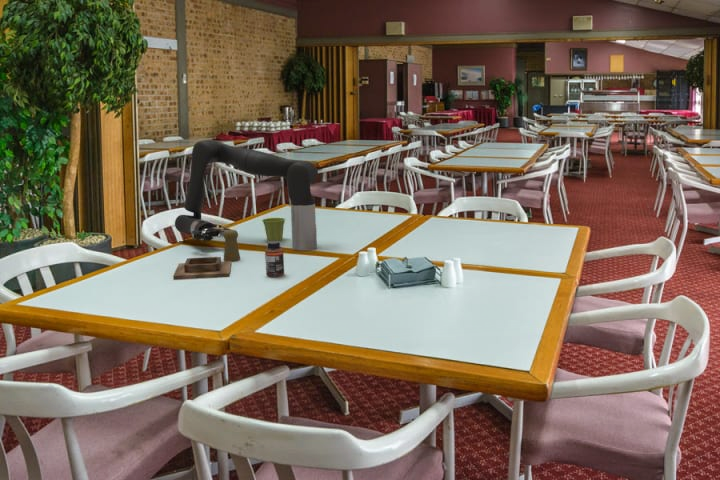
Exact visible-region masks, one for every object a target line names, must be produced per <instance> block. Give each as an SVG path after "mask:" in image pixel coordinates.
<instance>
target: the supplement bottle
mask: <svg viewBox="0 0 720 480" xmlns="http://www.w3.org/2000/svg"><path fill="white" fill-rule="evenodd" d="M264 253H265V255H264V257H265V258H264V259H265V260H264V261H265V274H266V276H267V277H270V278H278V277H279V278H280V277H282V276H284V275H285V262H284V261H285V259H284V249H283V247H281V241H267V247H266V248H265V250H264Z"/></svg>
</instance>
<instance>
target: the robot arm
mask: <svg viewBox="0 0 720 480" xmlns="http://www.w3.org/2000/svg"><path fill="white" fill-rule="evenodd" d="M191 151H192V152H191V161H190V162H191V163H190V171H189V172H190V173H189V182H188V188H187V191H186V197H185V200H184V204H183V207H184V209H185V210H186V211H187V212H190V213H192V214H193V215H190V214H179V215H178V216H177V217H176V218H175V220H174V227H175V229H176V230H177V231H178V232H180V233H182V234H189V235H191V238H192V239H194V240H195V241H199V240H201V241H203V242H209V241H212V240H213V239H215V238H220V239H221V238H224V236H223V233H224V231H226V230H232V229H231V228H228V227H226V226H225V227H224V226H223V227H222V228H221V227H220V228H219V227H216V226H215V225H214V223H212V222H210V221H207V220H205V219H202V209H203V203H204V200H205V197H206V185H205V173H206V171H207V168H208V165H209V164H214V163H221V164H227V165H231V166H233V167H235V168H236V169H238V170H239V171H241V172H244V173H247V174H251V175H255V176H261V177H277V178H278V177H280V178H285V179H286V180H287V181H286V182H287V194H288V197H289V200H290V201H289V202H290V217H291V219H290V221H291V242H292V243H291V246H292V247H291V248H292V250H294V251H312V250H317V249H318V240H317V239H318V238H317V236H318V235H317V224H316V223H317V221H316V220H317V219H316V197H315V195H313V194H312V192H311V184H313V183H315V182H316V180H317V179H318V176H319V171H318V168H317V167H316V165H315V164H314V163H312V162H310V161H308V160H301V159H300V160H299V159H292V158H291V159H290V158H285V157H281V156H279V155H275V154H271V153H268V152H264V151H259V150H256V149H251V148H246V147H245V148H244V147H238V146H237V147H236V146H233V145H230V144H226V143H223V142H222V141H221V142H220V141H218V140H216V139H204V140H199V141H197V142H196V143H194V145H193V147H192V150H191Z"/></svg>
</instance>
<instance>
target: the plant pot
mask: <svg viewBox="0 0 720 480" xmlns="http://www.w3.org/2000/svg"><path fill="white" fill-rule="evenodd" d="M261 221H262V223H263V225H264V230H265V235H266V240H267V242H269V241H279V242H281V241H283V236H284V225H285V221H286V218H284V217H270V218H269V217H267V218H263V219H262V220H261Z"/></svg>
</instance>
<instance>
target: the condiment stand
mask: <svg viewBox="0 0 720 480" xmlns="http://www.w3.org/2000/svg"><path fill="white" fill-rule="evenodd" d="M231 268H232V262H231V261H224V260H223V261H222V258H221V256H205V257H204V256H203V257H189V258H186V260H185V262H181V263H178V264H177V267H176V269H175V271H174V274H173V275H172V277H173V280H190V279H191V280H192V279H209V278H210V279H212V278H214V279H215V278H230V275H231Z"/></svg>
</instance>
